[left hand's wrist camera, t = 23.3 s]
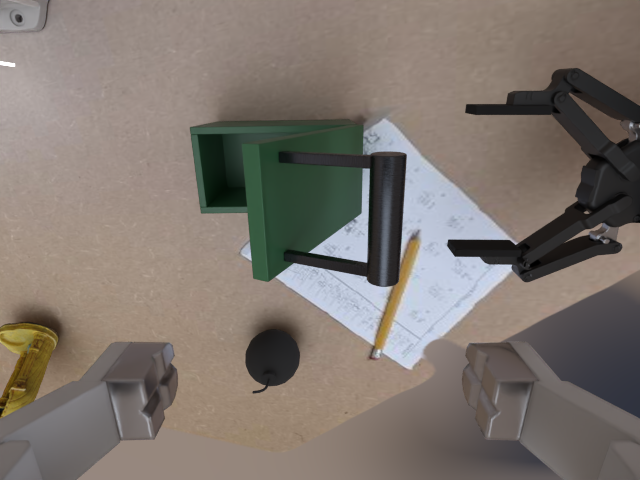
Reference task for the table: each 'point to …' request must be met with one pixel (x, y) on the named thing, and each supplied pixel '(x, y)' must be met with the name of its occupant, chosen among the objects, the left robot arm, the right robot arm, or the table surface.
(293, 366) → the bomb
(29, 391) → the shrine
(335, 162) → the lid
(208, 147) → the chest
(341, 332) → the table surface
